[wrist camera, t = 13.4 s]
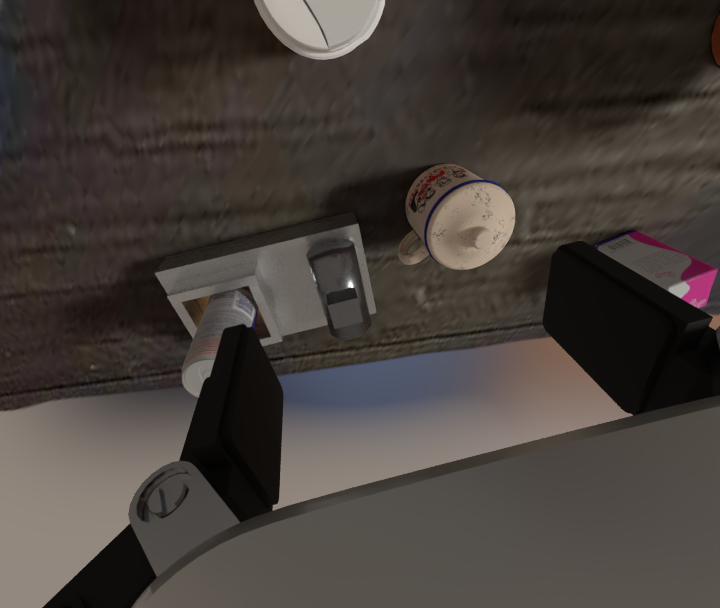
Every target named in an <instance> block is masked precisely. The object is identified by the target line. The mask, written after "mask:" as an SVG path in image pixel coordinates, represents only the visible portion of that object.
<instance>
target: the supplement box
mask: <svg viewBox="0 0 720 608" xmlns="http://www.w3.org/2000/svg"><path fill="white" fill-rule="evenodd" d="M595 249H597V250H599V251H600V252H602V253H604V254H606V255H607V256H609V257H611V258H612V259H614V260H616V261H618V262H619V263H621V264H623V265H624V266H626V267H628V268H630V269H631V270H633V271H635V272H636V273H638V274H640V275H642V276H643V277H645V278H647V279H648V280H650V281H652V282H654V283H655V284H657V285H659V286H660V287H662V288H664V289H666V290H667V291H669V292H671V293H672V294H674V295H676V296H678V297H679V298H681V299H683V300H684V301H686V302H688V303H690V304H691V305H693V306H695V307H696V308H700V307H703V306H705V305H706V303H707V300H708V297H709V294H710V290H711V287H712V284H713V282H714V279H715V276H716V273H717V268H714V267H712V266H710V265H708V264H706V263H704V262H702V261H699V260H697V259H695V258H693V257H691V256H689V255H687V254H685V253H682V252H680V251H678V250H676V249H674V248H672V247H670V246H668V245H666V244H663V243H661V242H659V241H657V240H655V239H653V238H651V237H649V236H646V235H644V234H642V233H640V232H638V231H636V230H632V231H629V232H627V233H624V234H622V235H619V236H617V237H614V238H611V239H609V240H606V241H604V242H601V243H599V244H596V245H595Z"/></svg>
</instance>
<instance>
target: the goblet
mask: <svg viewBox="0 0 720 608" xmlns="http://www.w3.org/2000/svg"><path fill="white" fill-rule="evenodd" d="M711 40H712V52H713V55H714V58H715V60H716V63H717V64H718V65H719V66H720V14H719V16H718V18H717V19H716V22H715V26H714V29H713V33H712V37H711Z"/></svg>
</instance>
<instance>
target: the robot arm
mask: <svg viewBox="0 0 720 608" xmlns="http://www.w3.org/2000/svg"><path fill="white" fill-rule="evenodd" d="M712 318H713V317H712V316H710V315H708V314H707V313H705V312H703V311H702V310H700V309H698V308H696V307H695V306H693V305H691V304H690V303H688V302H686V301H684V300H683V299H681V298H679V297H678V296H676V295H674V294H672V293H671V292H669V291H667V290H666V289H664V288H662V287H660V286H659V285H657V284H655V283H654V282H652V281H650V280H648V279H647V278H645V277H643V276H642V275H640V274H638V273H636V272H635V271H633V270H631V269H630V268H628V267H626V266H624V265H623V264H621V263H619V262H618V261H616V260H614V259H612V258H611V257H609V256H607V255H606V254H604V253H602V252H600V251H599V250H597V249H595V248H594V247H592V246H590V245H588V244H587V243H585V242H583V241H577V242H573V243H569V244H565V245H561V246H560V247H559V248H558V249H557V251H556V252H554V254H553V256H552V261H551V268H550V275H549V281H548V288H547V295H546V301H545V308H544V315H543V326H544V328H545V330H546V331H547V332H548V333H549V334H550V335H551V337H552V338H553V339H554V340H555V341H556V342H557V343H558V344H559V345H560V346H561V347H562V348H563V349H564V350H565V351H566V352H567V353H568V354H569V355H570V356H571V357H572V358H573V359H574V360H575V361H576V362H577V363H578V364H579V365H580V366H581V367H582V368H583V369H584V371H585V372H587V374H588V375H589V376H590V377H591V378H592V379H593V380H594V381H595V382H596V383H597V384H598V385H599V386H600V387H601V388H602V389H603V390H604V391H605V392H606V393H607V394H608V395H609V396H610V397H611V398H612V399H613V400H614V401H615V402H616V403H617V405H618V406H620V407H621V409H623V410H624V411H625V412H627V413H631V414H633V416H630V417H626V418H623V419H618V420H615V421H610V422H607V423H602V424H598V425H595V426H590V427H586V428H582V429H578V430H574V431H570V432H566V433H563V434H559V435H555V436H551V437H547V438H543V439H539V440H535V441H531V442H527V443H523V444H519V445H515V446H512V447H508V448H504V449H500V450H496V451H492V452H488V453H484V454H480V455H476V456H473V457H469V458H465V459H461V460H457V461H453V462H449V463H446V464H441V465H438V466H434V467H430V468H426V469H423V470H419V471H415V472H411V473H408V474H403V475H399V476H396V477H392V478H388V479H385V480H380V481H377V482H373V483H369V484H365V485H361V486H357V487H354V488H350V489H346V490H343V491H339V492H336V493H332V494H328V495H325V496H321V497H318V498H314V499H311V500H307V501H303V502H300V503H296V504H293V505H289V506H286V507H283V508H280V509H277V510H274V511H272V508H273V505H274V504H277V503H278V500H279V487H280V464H281V463H280V462H281V440H282V418H283V390H282V387H281V385H280V382H279V380H278V378H277V376H276V374H275V372H274V370H273V368H272V366H271V363H270V361H269V359H268V357H267V355H266V353H265V351H264V349H263V347H262V345H261V343H260V340H259V338H258V336H257V334H256V332H255V330H254V328H253V327H247V326H246V325H245V324H240V325H236V326H231V327H227V328H225V329H224V330H223V333H222V336H221V340H220V343H219V347H218V350H217V354H216V357H215V361H214V364H213V368H212V371H211V374H210V377H207V378H206V379H205V380H204V382H203V385H202V388H201V392H200V395H199V398H198V402H197V405H196V408H195V411H194V414H193V418H192V421H191V425H190V428H189V431H188V434H187V437H186V441H185V444H184V447H183V451H182V454H181V457H180V460H179V461H177V462H172V463H170V464H167V465H165V466H163V467H161V468H160V469H159V470H157V471H155V472H154V473H153V474H151V475H150V476H149V477H148V478H147V479H146V480H145V481H144V482H143V483H142V485H141V486H140V487H139V489H138V490H137V492H136V493H135V495H134V497H133V499H132V502H131V504H130V508H129V514H128V515H129V519H130V524H129V525H128V526H127V527H126V528H125V529H124V530H123V531H122V532H121V533H120V534H119V535H118V536H117V537H115V538H114V539H113V540H112V541H111V542H110V543H109V544H108V545H107V546H106V547H105V548H104V549H103V550H102V551H101V552H100V553H99V554H98V555H97V556H96V557H95V558H94V559H93V560H91V561H90V562H89V563H88V564H87V565H86V566H85V567H84V568H83V569H82V570H81V571H80V572H79V573H78V574H77V575H76V576H75V577H74V578H73V579H72V580H71V581H70V582H69V583H68V584H66V585H65V586H64V587H63V588H62V589H61V590H60V591H59V592H58V593H57V594H56V595H55V596H54V597H53V598H52V599H51V600H50V601H49V602H48V603H47V604H46V605H45V606H44V607H42V608H720V326H719V327H718V328H717V329H716V330H714V329H712V328H710V327H709V324H710V322H711V320H712Z"/></svg>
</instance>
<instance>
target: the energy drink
mask: <svg viewBox="0 0 720 608" xmlns="http://www.w3.org/2000/svg"><path fill="white" fill-rule="evenodd" d="M257 313H258V306H257V304H256V301H255V299H254V297H253V295H252V293H251V292H249V291H248V290H246V289H244V288H242V287H241V288H237V289H233V290H229V291H225V292H221V293H217V294H212V295H211V296H210V298H209V301H208V303H207V306H206V308H205V311H204V313H203V316H202V318H201V321H200V323H199V326H198V328H197V331H196V334H195V336H194V339H193V341H192V344H191V346H190V349H189V351H188V354H187V356H186V359H185V361H184V364H183V367H182V383H183V386H184V387H185V389H186V390H187V391H188V392H189V393H190V394H192V395H193V396H195V397H197V398H199V395H200V392H201V388H202V385H203V382H204V380H205V379H206V378H207V377H210V374H211V371H212V368H213V364H214V361H215V357H216V354H217V350H218V347H219V343H220V340H221V336H222V333H223V330H224V329H225V328H227V327H231V326H236V325H240V324H245V325H246V326H247V327H253V328H254V330H255V326H256V319H257Z"/></svg>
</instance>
